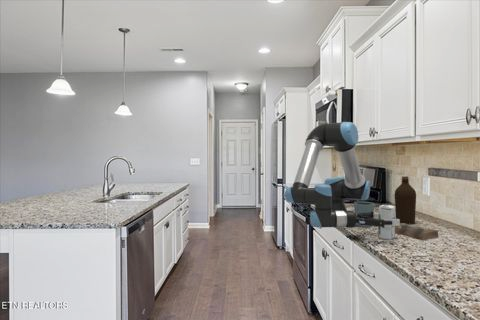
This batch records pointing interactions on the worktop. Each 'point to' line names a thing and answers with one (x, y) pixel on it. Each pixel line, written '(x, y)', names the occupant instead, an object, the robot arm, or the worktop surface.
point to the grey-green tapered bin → (363, 210)
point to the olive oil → (405, 202)
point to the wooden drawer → (416, 231)
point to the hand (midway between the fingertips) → (393, 219)
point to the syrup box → (386, 213)
